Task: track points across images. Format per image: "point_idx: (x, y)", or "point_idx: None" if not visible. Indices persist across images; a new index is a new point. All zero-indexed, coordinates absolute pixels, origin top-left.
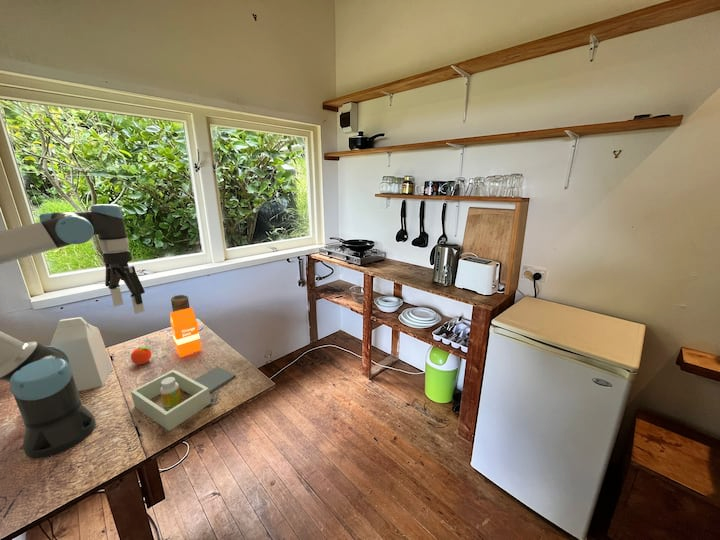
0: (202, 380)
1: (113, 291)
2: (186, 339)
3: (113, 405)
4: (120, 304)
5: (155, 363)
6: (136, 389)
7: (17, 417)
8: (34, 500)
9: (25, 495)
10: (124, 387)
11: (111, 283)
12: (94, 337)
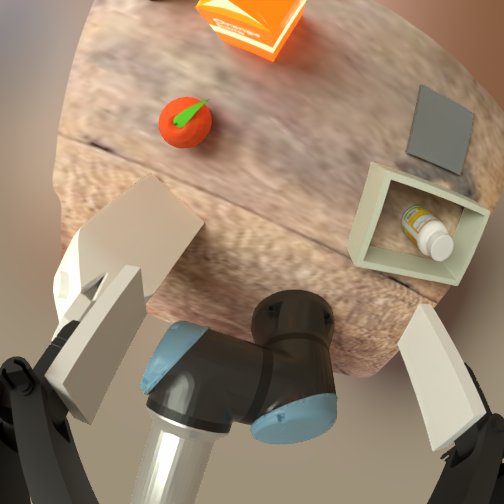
0: (428, 145)
1: (92, 399)
2: (287, 26)
3: (299, 256)
4: (140, 287)
5: (230, 109)
6: (361, 257)
7: (173, 315)
8: (360, 364)
9: (345, 365)
10: (260, 210)
11: (90, 490)
12: (120, 256)
